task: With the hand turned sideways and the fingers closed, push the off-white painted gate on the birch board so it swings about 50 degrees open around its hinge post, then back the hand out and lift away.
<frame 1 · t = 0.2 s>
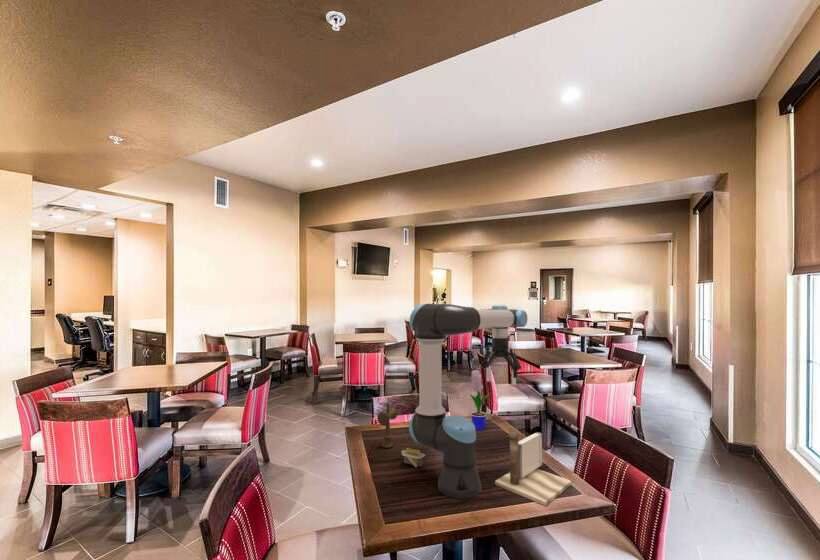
hand: (500, 383, 173), 27 cm above the table, tool pointing down, fingers open, 13 cm apart
kendama: (387, 447, 165), on the table
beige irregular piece: (411, 467, 147), on the table
gate frame: (514, 486, 131), on the table
hyacinth: (480, 428, 189), on the table
gate: (528, 454, 138), point 8 cm above the table, hinge at 0.0°
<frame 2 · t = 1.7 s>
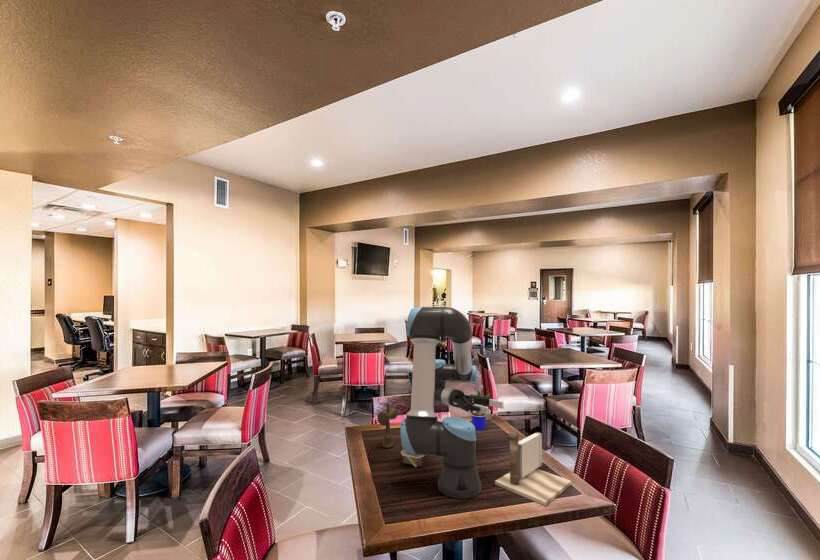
hand: (495, 408, 150), 22 cm above the table, tool horizontal, fingers open, 10 cm apart
nothing on the table moved.
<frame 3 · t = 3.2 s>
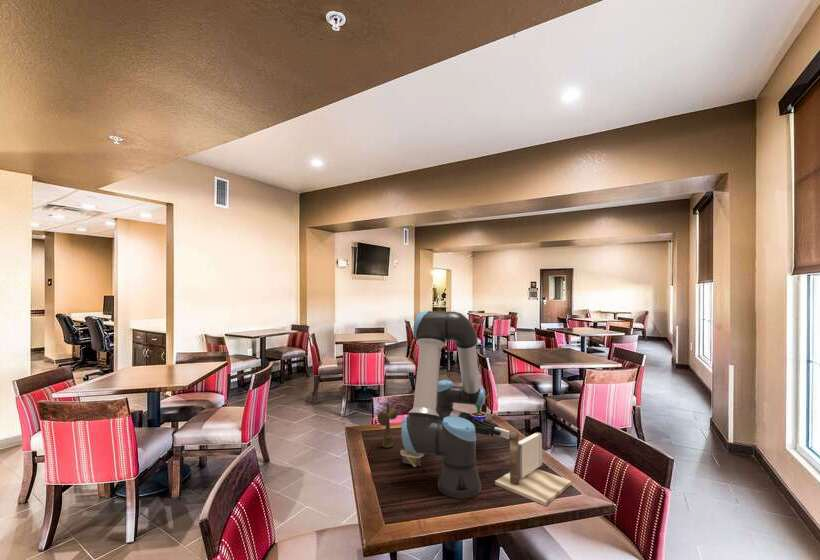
hand: (508, 435, 146), 12 cm above the table, tool horizontal, fingers closed
nothing on the table moved.
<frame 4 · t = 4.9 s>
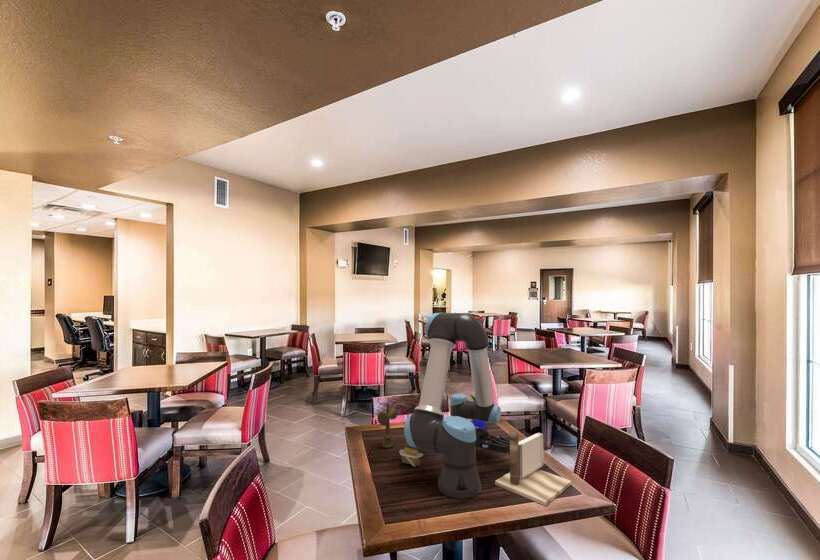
hand: (528, 453, 139), 8 cm above the table, tool horizontal, fingers closed
gate: (529, 454, 138), point 8 cm above the table, hinge at 1.9°, touching gripper
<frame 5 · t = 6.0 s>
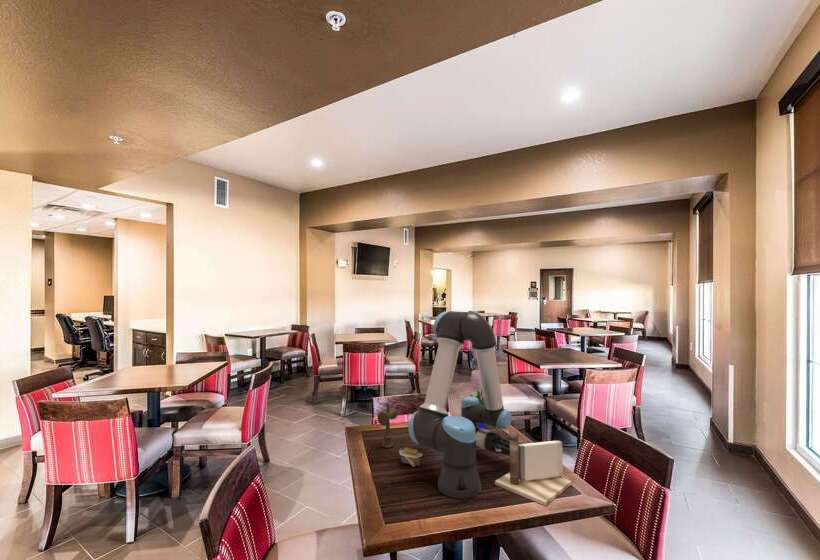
hand: (543, 458, 135), 8 cm above the table, tool horizontal, fingers closed
gate: (540, 460, 133), point 8 cm above the table, hinge at 30.3°, touching gripper
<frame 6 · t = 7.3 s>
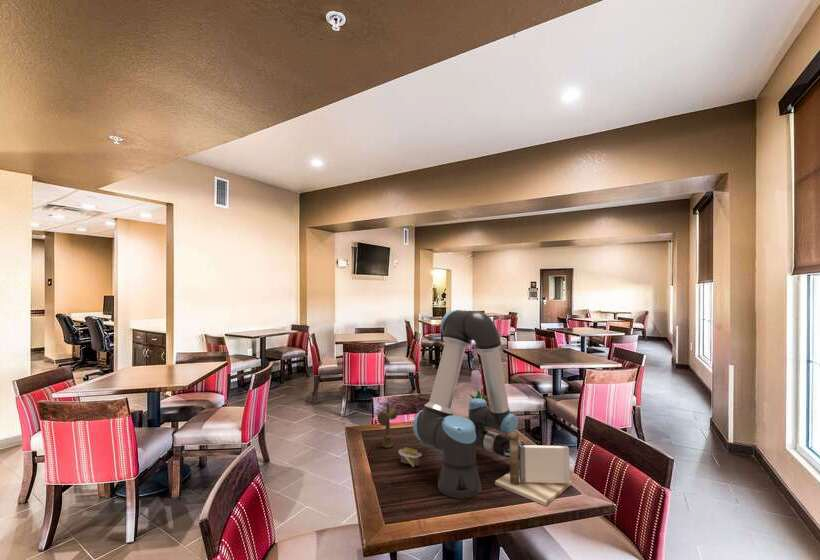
hand: (554, 462, 132), 8 cm above the table, tool horizontal, fingers closed
gate: (544, 463, 130), point 8 cm above the table, hinge at 46.5°, touching gripper
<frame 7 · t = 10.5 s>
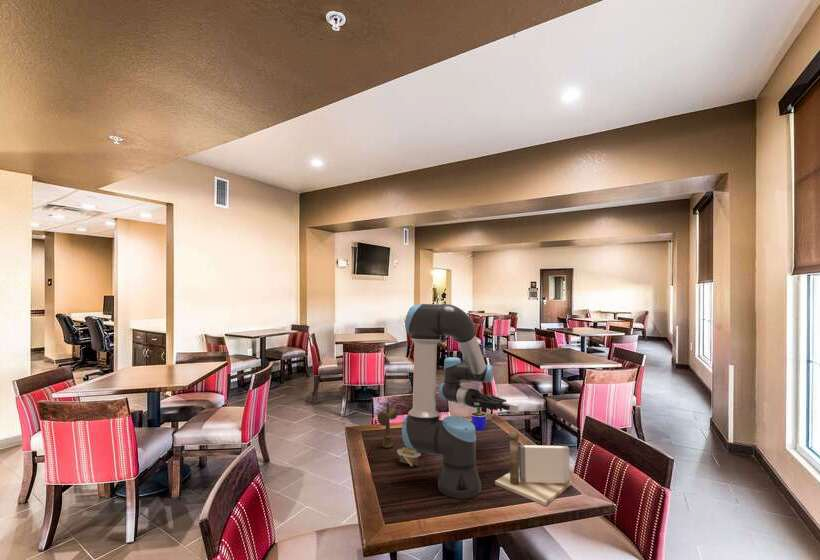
hand: (518, 409, 142), 24 cm above the table, tool horizontal, fingers closed
gate: (544, 463, 130), point 8 cm above the table, hinge at 46.6°
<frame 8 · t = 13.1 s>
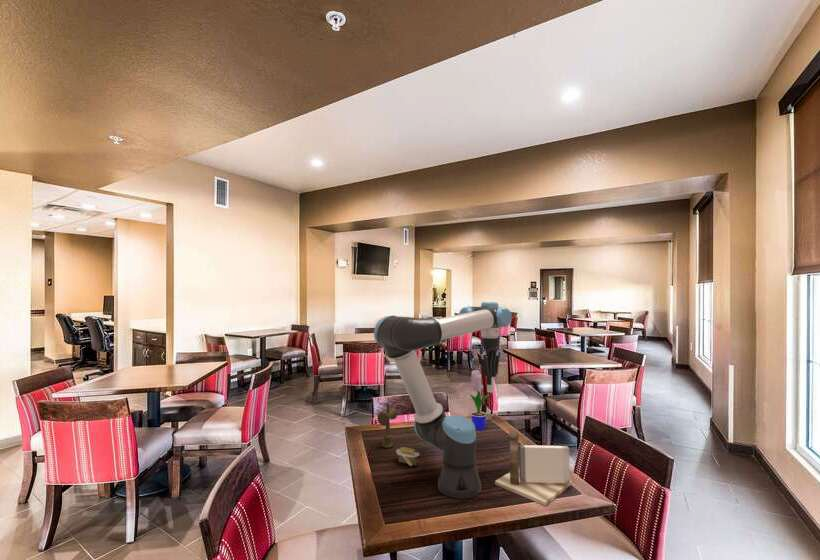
hand: (490, 391, 159), 26 cm above the table, tool pointing down, fingers closed
at the end: gate at +47° (first picture: +0°); hyacinth moved 0.2 cm from its start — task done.
